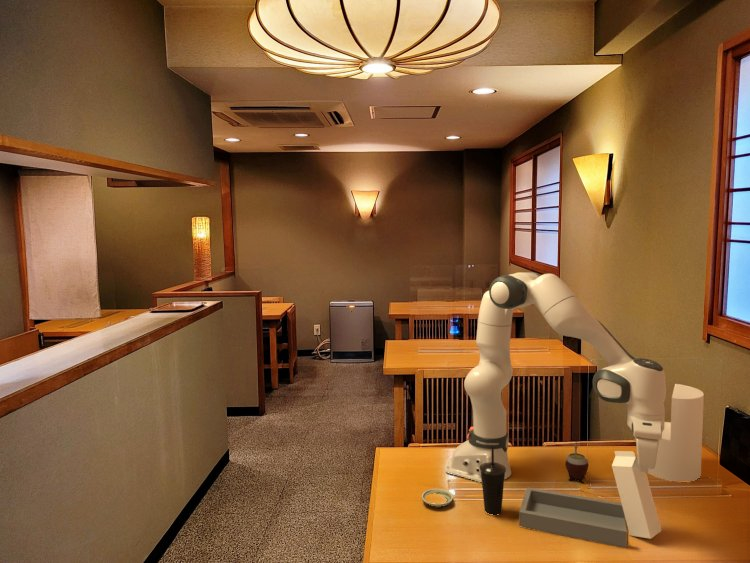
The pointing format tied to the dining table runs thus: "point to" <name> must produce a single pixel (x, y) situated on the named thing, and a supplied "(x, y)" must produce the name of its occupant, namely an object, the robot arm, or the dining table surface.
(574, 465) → the mate gourd
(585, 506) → the trough
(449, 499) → the saucer
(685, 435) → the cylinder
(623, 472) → the milk
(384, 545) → the dining table surface
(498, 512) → the drinking cup
